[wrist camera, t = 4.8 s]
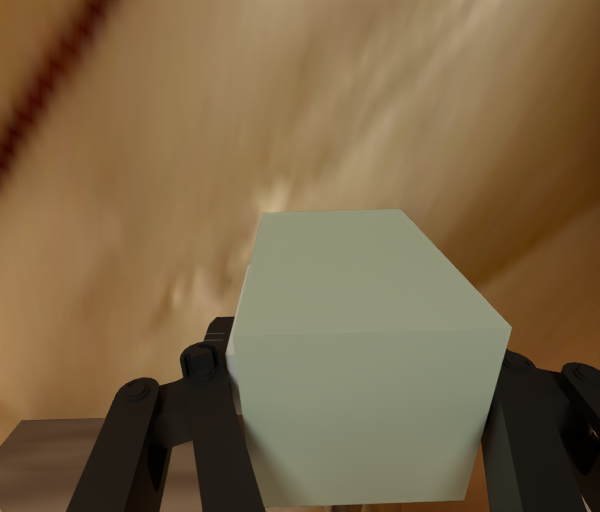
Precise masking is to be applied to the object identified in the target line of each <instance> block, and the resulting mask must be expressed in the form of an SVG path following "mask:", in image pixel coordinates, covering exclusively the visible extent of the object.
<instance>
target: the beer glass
mask: <svg viewBox="0 0 600 512" xmlns="http://www.w3.org/2000/svg"><path fill="white" fill-rule="evenodd" d="M322 509H323V512H402V507H401V503H378V504H350V505H323V506H322Z"/></svg>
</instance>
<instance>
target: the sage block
mask: <svg viewBox="0 0 600 512" xmlns="http://www.w3.org/2000/svg"><path fill="white" fill-rule="evenodd" d="M511 329H512V327H511V326H510V325H509V324H508V323H507V322H506V321H505V320H504V319H503V318H502V317H501V315H500V314H499V313H498V312H497V311H496V310H495V309H494V308H493V307H492V306H491V305H490V304H489V303H488V302H487V301H486V300H485V298H484V297H483V296H482V295H481V294H480V293H479V292H478V291H477V290H476V289H475V288H474V287H473V286H472V285H471V284H470V282H469V281H468V280H467V279H466V278H465V277H464V276H463V275H462V274H461V273H460V272H459V271H458V270H457V269H456V268H455V267H454V265H453V264H452V263H451V262H450V261H449V260H448V259H447V258H446V257H445V256H444V255H443V254H442V253H441V252H440V251H439V249H438V248H437V247H436V246H435V245H434V244H433V243H432V242H431V241H430V240H429V239H428V238H427V237H426V236H425V235H424V234H423V232H422V231H421V230H420V229H419V228H418V227H417V226H416V225H415V224H414V223H413V222H412V221H411V220H410V219H409V218H408V216H407V215H406V214H405V213H404V212H403V211H402V210H401V209H384V210H348V211H312V212H277V213H262V217H261V221H260V225H259V229H258V233H257V238H256V242H255V246H254V250H253V254H252V258H251V262H250V266H249V271H248V275H247V279H246V283H245V287H244V291H243V295H242V300H241V304H240V308H239V312H238V316H237V320H236V324H235V328H234V333H233V344H234V352H235V360H236V368H237V376H238V384H239V392H240V400H241V408H242V416H243V424H244V432H245V440H246V447H247V450H248V453H249V457H250V460H251V464H252V467H253V470H254V474H255V477H256V481H257V484H258V488H259V491H260V494H261V498H262V501H263V505H264V508H269V507H296V506H323V505H350V504H378V503H405V502H432V501H459V500H464V499H465V495H466V491H467V488H468V484H469V481H470V477H471V473H472V470H473V466H474V463H475V459H476V455H477V452H478V448H479V445H480V441H481V437H482V434H483V430H484V426H485V423H486V419H487V416H488V412H489V408H490V405H491V401H492V398H493V394H494V390H495V387H496V383H497V380H498V376H499V372H500V369H501V365H502V362H503V358H504V354H505V351H506V347H507V344H508V340H509V336H510V333H511Z"/></svg>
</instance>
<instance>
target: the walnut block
mask: <svg viewBox="0 0 600 512" xmlns="http://www.w3.org/2000/svg"><path fill="white" fill-rule="evenodd" d="M237 416H238V419H239V423H240V426H241V429H242V433H243V436H244V440H245V432H244V424H243V416H242V415H237ZM105 419H106V418H89V419H54V420H21V422H20V423H19V424H18V425H17V427H16V428H15V429H14V430H13V431H12V433H11V434H10V435H9V436H8V438H7V439H6V440H5V441H4V442H3V444H2V445H1V446H0V509H1V510H2V512H66V510H67V507H68V505H69V503H70V500H71V498H72V496H73V493H74V491H75V489H76V486H77V484H78V482H79V479H80V477H81V475H82V472H83V470H84V468H85V465H86V463H87V461H88V458H89V456H90V454H91V451H92V449H93V447H94V444H95V442H96V440H97V437H98V435H99V433H100V430H101V428H102V426H103V423H104V421H105ZM245 443H246V440H245ZM160 512H202V505H201V497H200V490H199V483H198V476H197V469H196V462H195V455H194V448H193V441H189V442H186V443H183V444H180V445H177V446H174V447H173V448H172V453H171V458H170V463H169V468H168V473H167V478H166V483H165V487H164V492H163V497H162V502H161V507H160Z"/></svg>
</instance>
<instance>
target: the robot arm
mask: <svg viewBox="0 0 600 512" xmlns="http://www.w3.org/2000/svg"><path fill="white" fill-rule="evenodd" d="M249 266H250V265H248V267H247V271H246V275H245V279H244V283H243V287H242V291H241V295H240V299H239V303H238V307H237V311H236V315H235V317H216V318H215V319H214V320H213V321H212V322H211V323H210V324H209V327H208V330H207V332H206V335H205V338H204V341H203V342H200V343H196V344H193V345H191V346H189V347H188V348H186V349H185V350H184V351H183V352H182V354H181V356H180V363H181V368H182V373H183V378H182V379H180V380H177V381H175V382H172V383H168V384H164V385H161V386H159V384H158V382H157V381H156V380H154V379H152V378H139V379H135V380H132V381H130V382H128V383H126V384H125V385H124V386H123V387H121V388H120V389H119V391H118V392H117V394H116V395H115V398H114V400H113V402H112V405H111V407H110V409H109V412H108V414H107V416H106V419H105V421H104V423H103V426H102V428H101V430H100V433H99V435H98V437H97V440H96V442H95V444H94V447H93V449H92V451H91V454H90V456H89V458H88V461H87V463H86V465H85V468H84V470H83V472H82V475H81V477H80V479H79V482H78V484H77V486H76V489H75V491H74V493H73V496H72V498H71V500H70V503H69V505H68V507H67V510H66V512H160V507H161V502H162V497H163V492H164V487H165V483H166V478H167V473H168V468H169V463H170V458H171V453H172V448H173V447H174V446H177V445H180V444H183V443H186V442H189V441H193V448H194V455H195V462H196V469H197V476H198V483H199V490H200V497H201V505H202V512H266V511H265V508H264V505H263V501H262V498H261V494H260V491H259V488H258V484H257V481H256V477H255V474H254V470H253V467H252V464H251V460H250V457H249V453H248V450H247V447H246V443H245V440H244V436H243V433H242V429H241V426H240V423H239V419H238V416H237V415H242V408H241V400H240V392H239V384H238V376H237V368H236V360H235V352H234V344H233V333H234V328H235V324H236V320H237V316H238V312H239V308H240V304H241V300H242V295H243V291H244V287H245V283H246V279H247V275H248V271H249ZM593 430H594V431H595V433H596V434H597V436H598V437H597V436H596V435H595V434H594V432H593ZM481 444H482V452H483V460H484V468H485V476H486V484H487V492H488V499H489V507H490V512H587V510H586V508H585V505H584V502H583V499H582V497H583V498H584V500H585V501H586V503H587V505H588V506H589V508H590V510H591V511H592V512H600V370H598V369H596V368H594V367H592V366H589V365H586V364H582V363H576V362H573V363H567V364H565V365H564V366H563V368H562V371H561V373H559V372H554V371H548V370H543V369H538V368H536V367H535V366H534V364H533V362H531V361H530V360H529V359H528V358H526V357H524V356H522V355H520V354H518V353H515V352H511V351H509V350H508V349H507V348H506V351H505V354H504V358H503V362H502V365H501V369H500V372H499V376H498V380H497V383H496V387H495V390H494V394H493V398H492V401H491V405H490V408H489V412H488V416H487V419H486V423H485V426H484V430H483V434H482V437H481ZM581 495H582V496H581Z"/></svg>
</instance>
